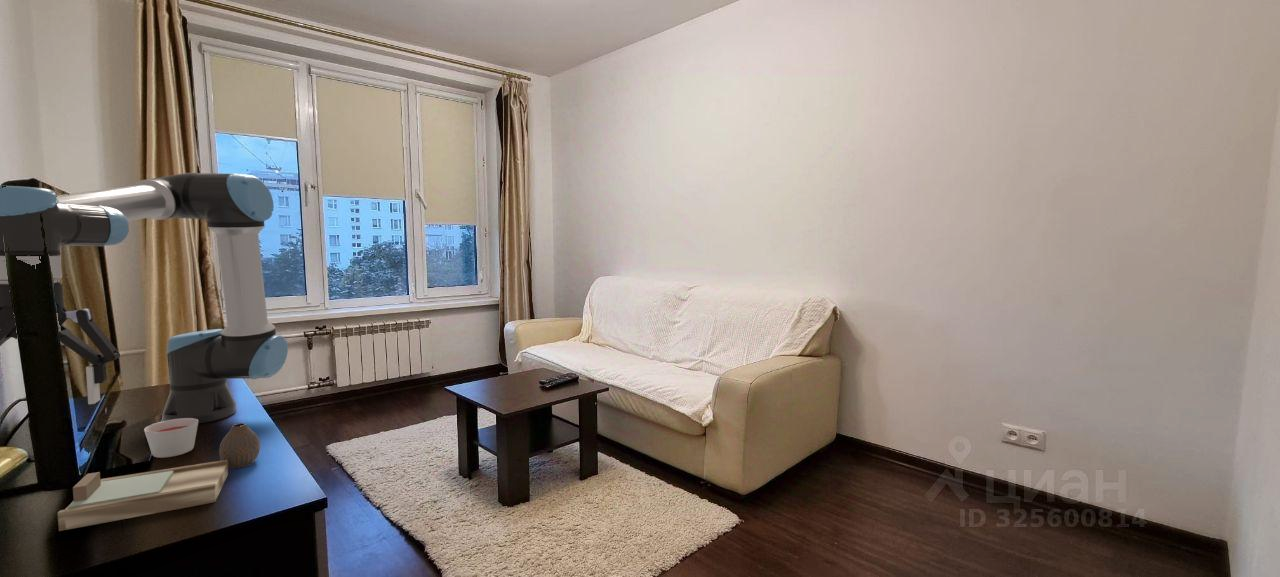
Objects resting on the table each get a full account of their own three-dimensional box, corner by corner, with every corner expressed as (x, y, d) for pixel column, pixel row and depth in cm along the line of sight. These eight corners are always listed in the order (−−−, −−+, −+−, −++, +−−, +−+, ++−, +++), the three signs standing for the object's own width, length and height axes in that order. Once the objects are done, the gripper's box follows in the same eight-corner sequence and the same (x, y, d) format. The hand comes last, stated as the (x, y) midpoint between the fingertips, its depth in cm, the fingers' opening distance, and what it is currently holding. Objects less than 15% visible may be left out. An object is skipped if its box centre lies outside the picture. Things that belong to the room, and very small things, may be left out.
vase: (238, 473, 106) (236, 432, 105) (211, 469, 107) (209, 429, 107) (268, 459, 113) (267, 420, 112) (242, 456, 114) (241, 418, 113)
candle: (137, 463, 110) (135, 434, 109) (156, 447, 118) (154, 420, 117) (191, 456, 113) (189, 428, 113) (205, 442, 122) (204, 416, 121)
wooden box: (91, 496, 95) (90, 480, 95) (228, 474, 105) (227, 459, 105) (58, 531, 84) (57, 513, 84) (215, 502, 94) (214, 485, 94)
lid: (91, 486, 94) (90, 470, 94) (173, 473, 100) (172, 457, 99) (67, 510, 86) (66, 492, 85) (158, 494, 91) (157, 477, 91)
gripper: (-111, 284, 75) (-98, 426, 76) (124, 281, 88) (131, 403, 89) (-77, 281, 81) (-65, 412, 83) (138, 279, 94) (144, 392, 96)
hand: (37, 408), depth 86 cm, fingers open, 13 cm apart
